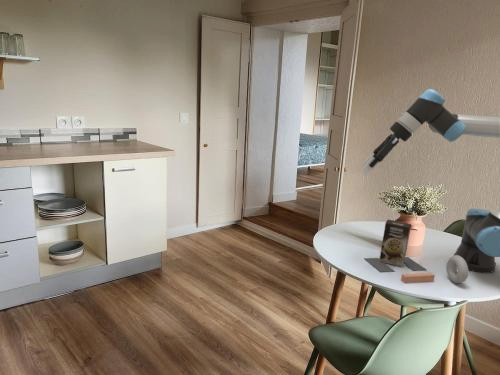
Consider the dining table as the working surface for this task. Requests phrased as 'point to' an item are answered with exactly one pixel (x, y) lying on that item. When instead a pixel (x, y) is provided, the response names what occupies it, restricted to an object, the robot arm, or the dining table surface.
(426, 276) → the tan rectangular bar
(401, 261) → the coffee box
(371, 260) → the pads
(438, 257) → the dining table surface
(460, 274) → the donut
